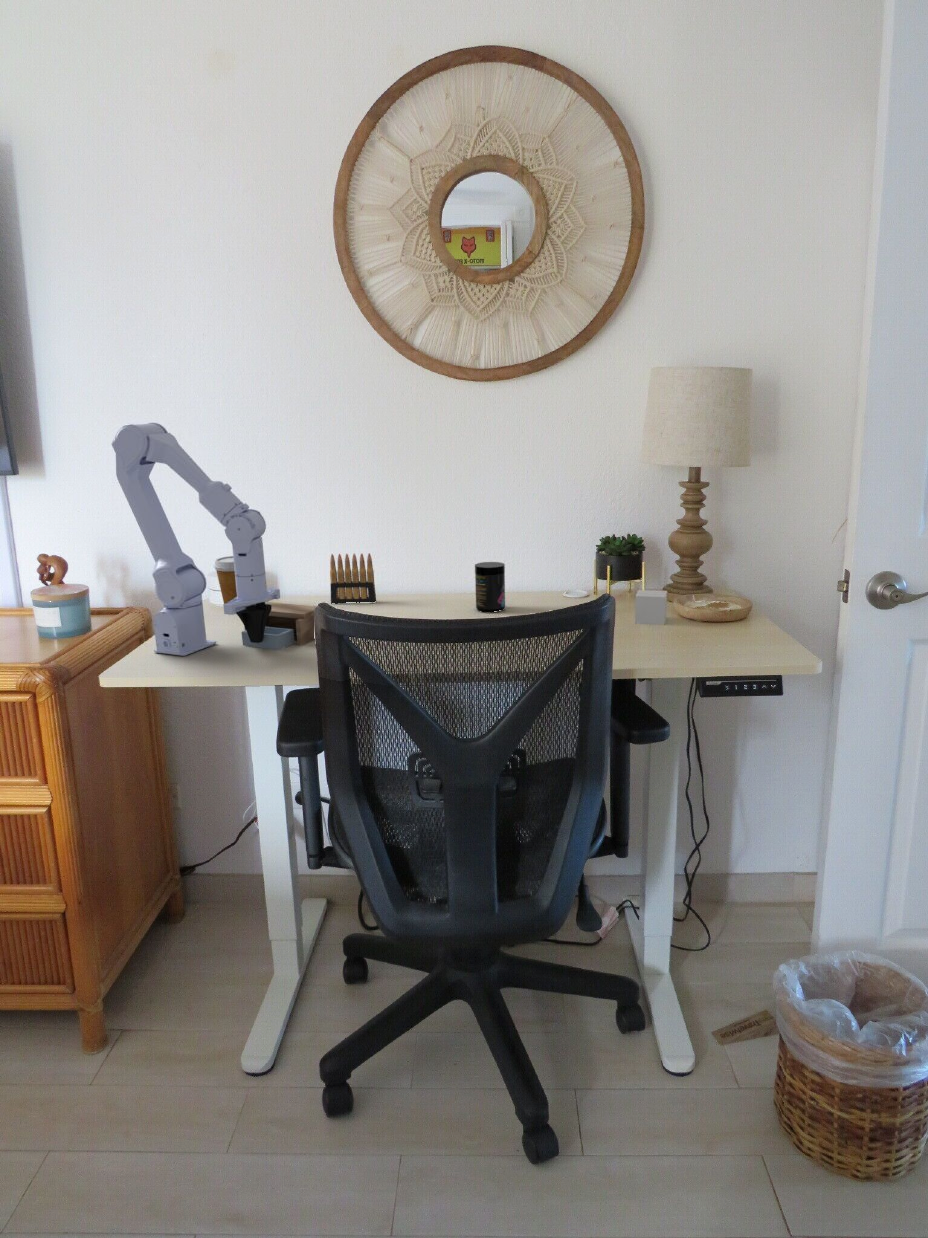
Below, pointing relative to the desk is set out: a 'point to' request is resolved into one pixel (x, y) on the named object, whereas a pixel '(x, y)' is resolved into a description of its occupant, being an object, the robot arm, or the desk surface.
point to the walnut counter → (293, 620)
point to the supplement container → (490, 586)
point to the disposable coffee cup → (226, 577)
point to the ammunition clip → (352, 580)
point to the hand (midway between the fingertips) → (256, 641)
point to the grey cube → (650, 607)
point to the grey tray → (271, 638)
